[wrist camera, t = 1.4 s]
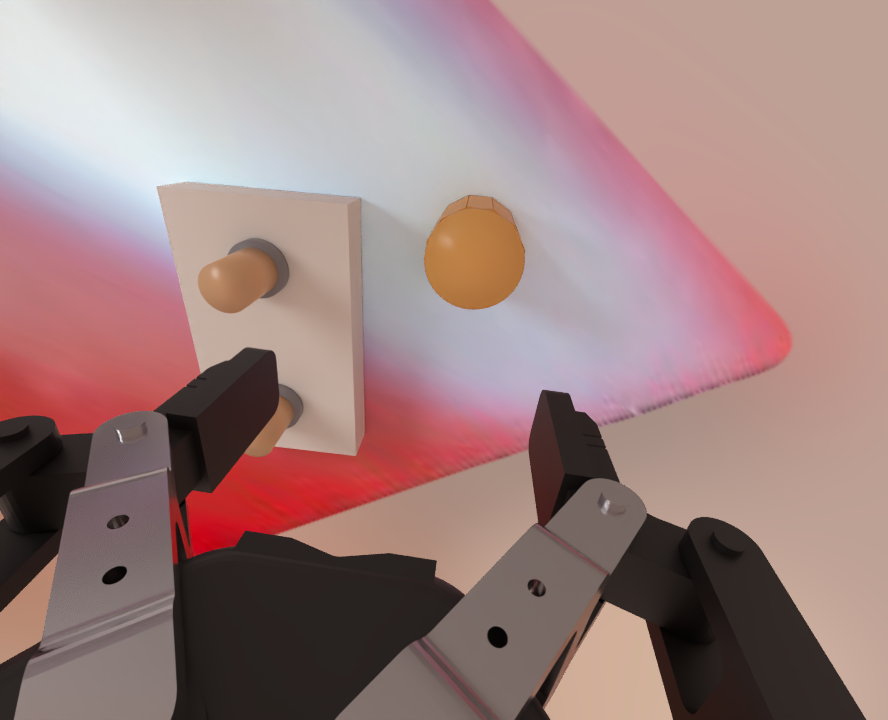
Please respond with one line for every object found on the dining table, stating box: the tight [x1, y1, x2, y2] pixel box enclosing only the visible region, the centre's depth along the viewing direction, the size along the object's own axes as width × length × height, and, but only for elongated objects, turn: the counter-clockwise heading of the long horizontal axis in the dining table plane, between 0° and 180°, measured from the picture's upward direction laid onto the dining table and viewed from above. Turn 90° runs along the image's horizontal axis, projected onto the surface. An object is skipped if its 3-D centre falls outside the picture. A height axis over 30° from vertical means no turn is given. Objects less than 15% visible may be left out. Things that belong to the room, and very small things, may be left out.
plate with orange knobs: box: [157, 182, 365, 457], centre depth 30 cm, size 20×12×8 cm, turn 176°
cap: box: [424, 195, 525, 309], centre depth 26 cm, size 6×6×6 cm
